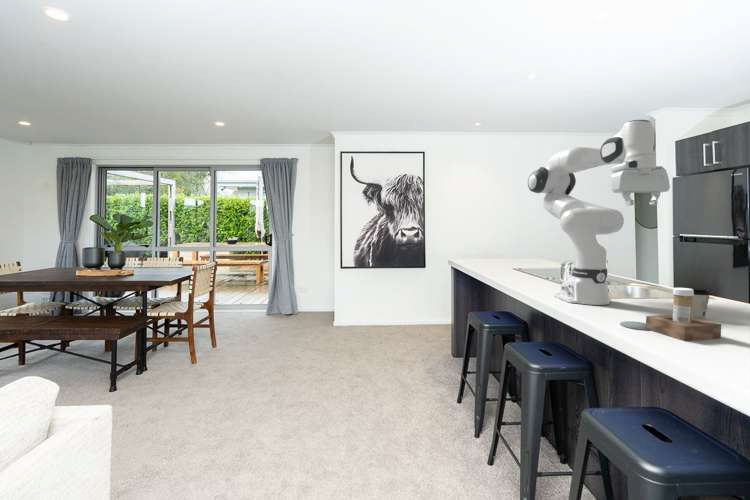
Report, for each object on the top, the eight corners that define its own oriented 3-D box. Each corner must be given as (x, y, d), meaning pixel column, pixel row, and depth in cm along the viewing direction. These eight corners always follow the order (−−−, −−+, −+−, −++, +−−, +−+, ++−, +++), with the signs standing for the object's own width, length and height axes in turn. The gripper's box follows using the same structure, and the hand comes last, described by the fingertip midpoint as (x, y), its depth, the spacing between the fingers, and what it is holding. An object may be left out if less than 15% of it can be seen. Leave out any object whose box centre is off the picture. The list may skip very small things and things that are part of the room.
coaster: (613, 323, 119) (613, 322, 119) (637, 321, 120) (637, 320, 120) (637, 331, 110) (637, 329, 110) (662, 329, 112) (662, 328, 112)
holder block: (645, 328, 112) (646, 316, 112) (678, 326, 114) (679, 314, 114) (684, 340, 101) (685, 326, 100) (720, 338, 102) (721, 324, 102)
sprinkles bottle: (694, 333, 107) (696, 288, 106) (688, 336, 104) (690, 290, 103) (674, 330, 111) (676, 286, 110) (669, 332, 108) (670, 288, 107)
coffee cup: (714, 320, 120) (715, 291, 120) (688, 319, 122) (689, 290, 122) (702, 315, 127) (704, 287, 126) (678, 314, 129) (679, 286, 128)
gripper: (657, 168, 131) (659, 206, 131) (607, 167, 128) (609, 206, 128) (674, 163, 125) (676, 203, 125) (621, 163, 122) (623, 204, 121)
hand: (641, 205), depth 126 cm, fingers open, 8 cm apart
